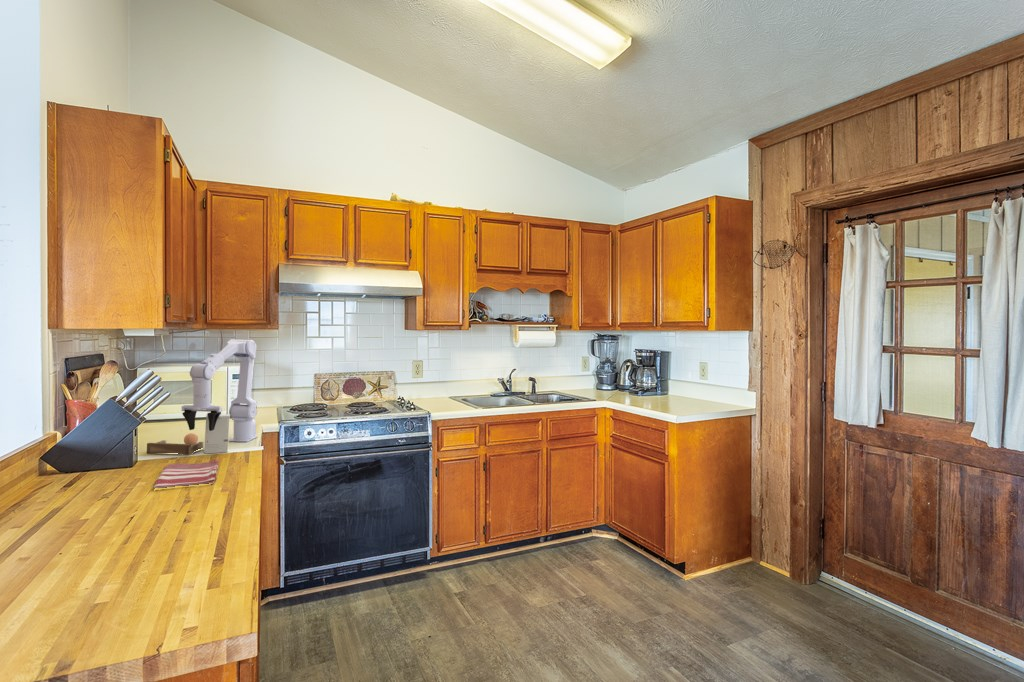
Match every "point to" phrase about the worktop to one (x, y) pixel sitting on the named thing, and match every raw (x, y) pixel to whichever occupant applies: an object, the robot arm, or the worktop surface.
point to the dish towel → (187, 474)
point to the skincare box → (217, 435)
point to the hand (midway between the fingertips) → (201, 429)
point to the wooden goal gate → (173, 447)
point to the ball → (191, 439)
